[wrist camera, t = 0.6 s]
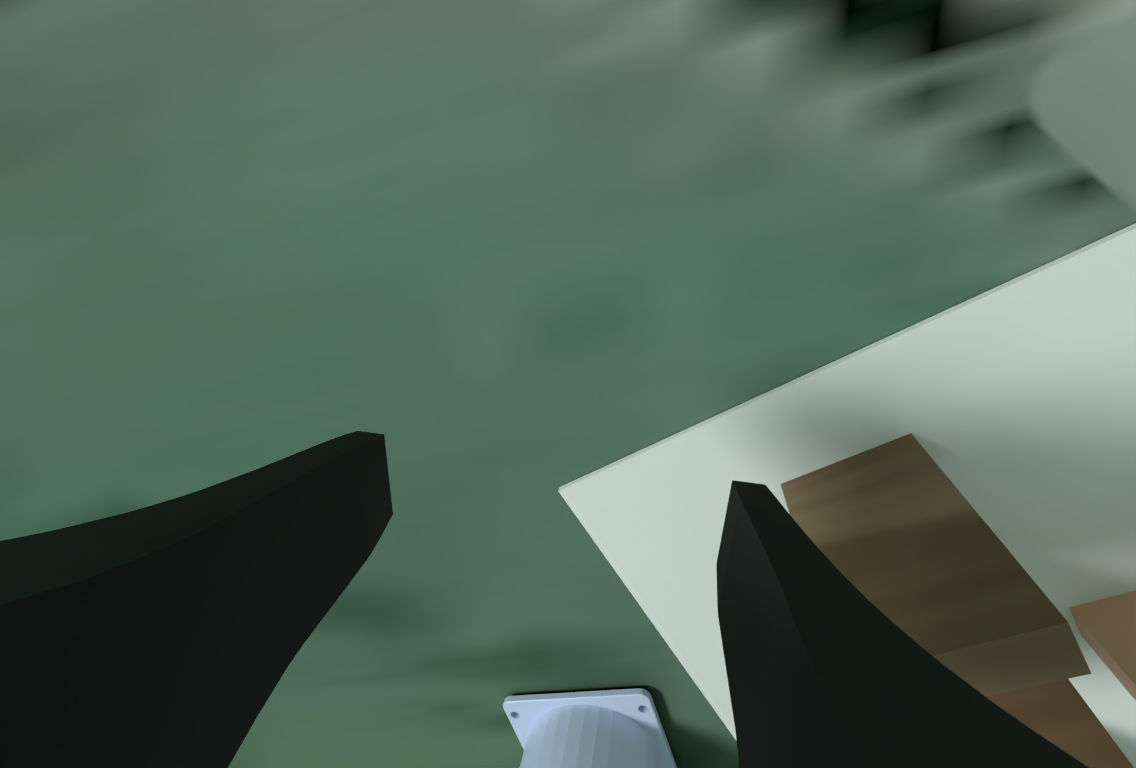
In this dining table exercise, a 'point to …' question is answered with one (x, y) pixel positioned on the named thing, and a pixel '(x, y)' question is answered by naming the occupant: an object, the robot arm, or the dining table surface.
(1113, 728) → the white flat board
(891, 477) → the domino
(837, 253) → the dining table surface
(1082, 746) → the domino
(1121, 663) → the domino
